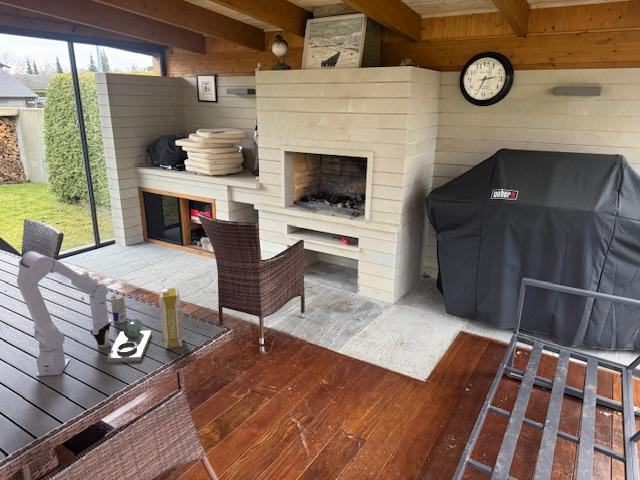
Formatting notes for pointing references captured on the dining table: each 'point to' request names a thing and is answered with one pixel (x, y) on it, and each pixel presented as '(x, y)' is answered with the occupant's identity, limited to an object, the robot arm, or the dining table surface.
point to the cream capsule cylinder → (105, 341)
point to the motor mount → (130, 343)
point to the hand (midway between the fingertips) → (103, 341)
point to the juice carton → (171, 318)
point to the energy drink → (118, 308)
